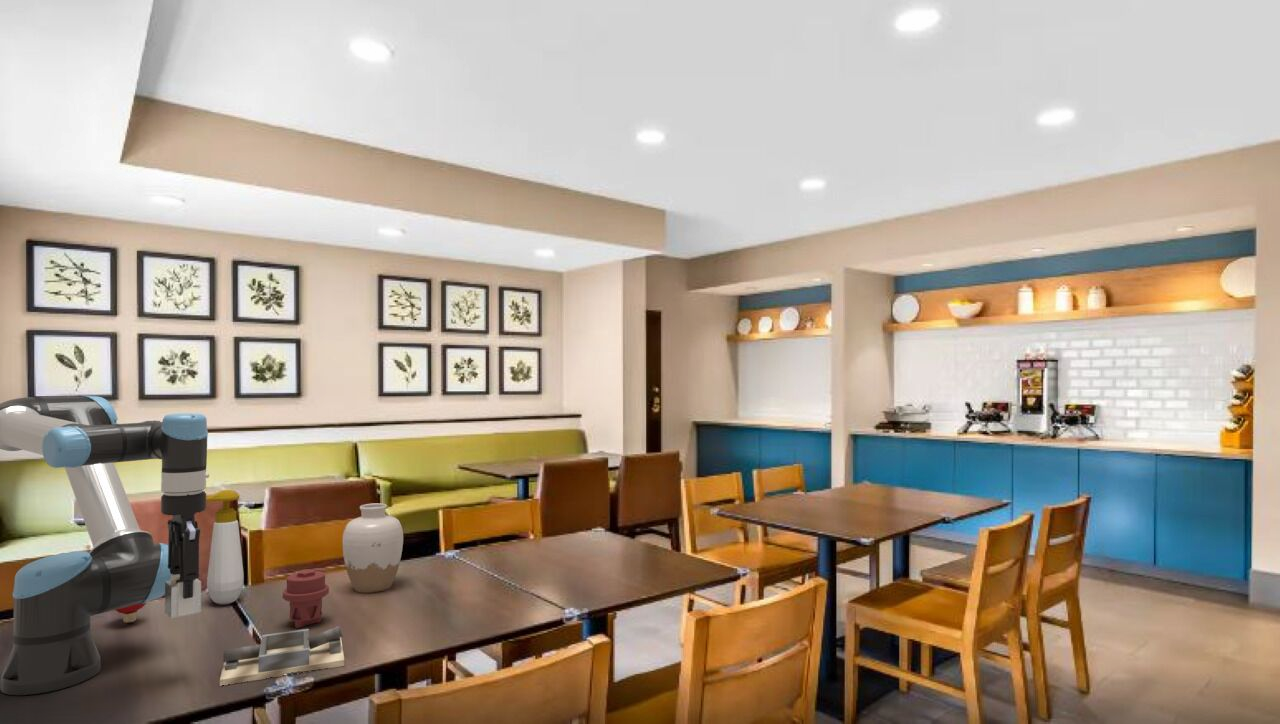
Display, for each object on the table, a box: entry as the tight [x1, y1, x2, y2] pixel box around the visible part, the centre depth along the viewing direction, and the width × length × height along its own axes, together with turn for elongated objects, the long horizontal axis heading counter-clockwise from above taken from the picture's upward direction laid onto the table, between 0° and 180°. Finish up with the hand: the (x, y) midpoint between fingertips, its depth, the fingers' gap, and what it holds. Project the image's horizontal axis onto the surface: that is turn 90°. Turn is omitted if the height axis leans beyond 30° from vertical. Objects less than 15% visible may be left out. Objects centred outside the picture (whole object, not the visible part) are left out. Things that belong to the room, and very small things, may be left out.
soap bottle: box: [206, 489, 245, 606], centre depth 187 cm, size 13×10×29 cm
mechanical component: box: [282, 568, 330, 629], centre depth 171 cm, size 12×10×10 cm
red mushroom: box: [115, 602, 147, 625], centre depth 171 cm, size 9×7×10 cm
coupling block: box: [164, 577, 202, 619], centre depth 141 cm, size 5×5×7 cm
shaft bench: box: [219, 625, 345, 687], centre depth 147 cm, size 22×14×6 cm, turn 115°
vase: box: [342, 502, 404, 594], centre depth 199 cm, size 16×16×23 cm
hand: (182, 610), depth 141 cm, fingers closed on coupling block, 5 cm apart
